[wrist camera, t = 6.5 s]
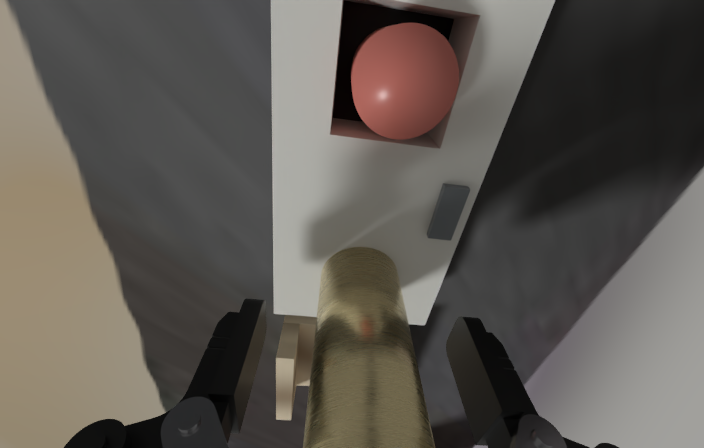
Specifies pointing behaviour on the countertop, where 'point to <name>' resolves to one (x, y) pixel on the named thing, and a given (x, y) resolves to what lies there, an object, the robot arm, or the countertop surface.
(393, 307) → the cell
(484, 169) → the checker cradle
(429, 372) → the countertop surface
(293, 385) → the beige channel block
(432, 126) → the button
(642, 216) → the countertop surface
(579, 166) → the countertop surface
